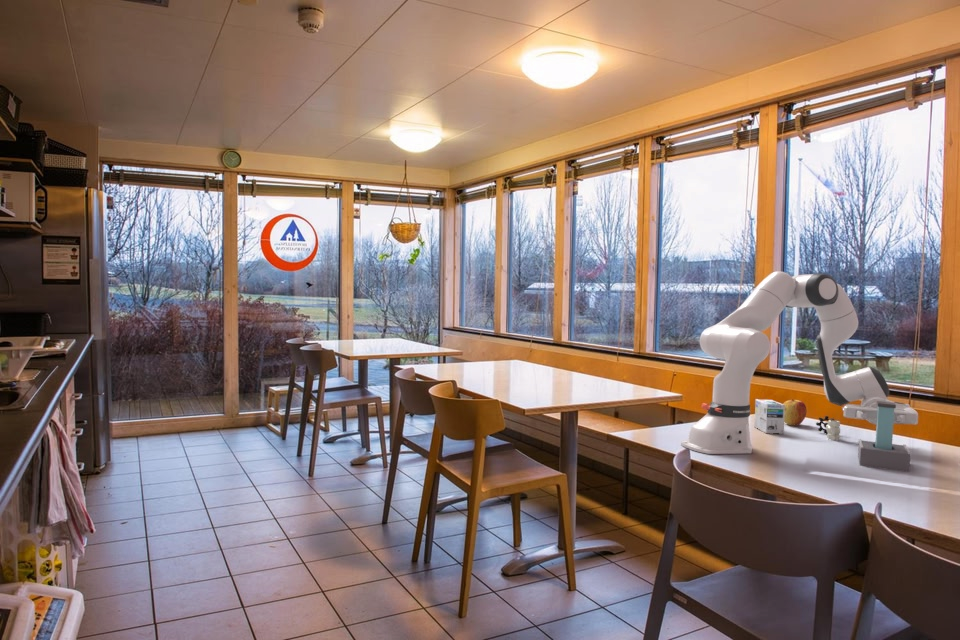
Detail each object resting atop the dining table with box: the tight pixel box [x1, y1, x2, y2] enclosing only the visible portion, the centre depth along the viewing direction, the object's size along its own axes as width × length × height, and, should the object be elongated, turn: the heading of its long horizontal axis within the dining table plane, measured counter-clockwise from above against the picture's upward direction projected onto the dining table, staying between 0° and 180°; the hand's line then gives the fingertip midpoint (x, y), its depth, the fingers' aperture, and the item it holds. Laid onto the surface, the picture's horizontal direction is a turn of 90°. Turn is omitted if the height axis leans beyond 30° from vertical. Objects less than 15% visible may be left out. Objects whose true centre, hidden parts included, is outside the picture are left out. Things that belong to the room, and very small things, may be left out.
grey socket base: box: [857, 438, 911, 473], centre depth 188 cm, size 12×12×6 cm
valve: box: [815, 415, 841, 441], centre depth 227 cm, size 7×7×12 cm
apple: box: [782, 398, 807, 426], centre depth 247 cm, size 9×9×10 cm
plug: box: [875, 401, 896, 450], centre depth 188 cm, size 4×4×18 cm
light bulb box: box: [754, 398, 785, 435], centre depth 234 cm, size 11×7×11 cm, turn 179°
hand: (881, 418), depth 198 cm, fingers open, 8 cm apart
